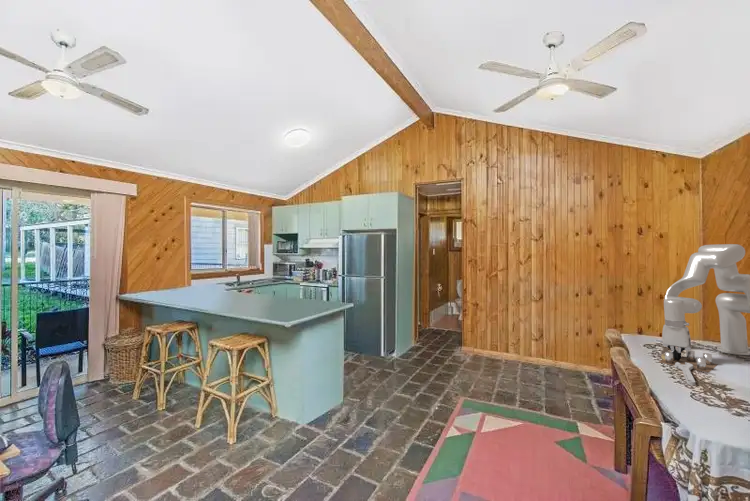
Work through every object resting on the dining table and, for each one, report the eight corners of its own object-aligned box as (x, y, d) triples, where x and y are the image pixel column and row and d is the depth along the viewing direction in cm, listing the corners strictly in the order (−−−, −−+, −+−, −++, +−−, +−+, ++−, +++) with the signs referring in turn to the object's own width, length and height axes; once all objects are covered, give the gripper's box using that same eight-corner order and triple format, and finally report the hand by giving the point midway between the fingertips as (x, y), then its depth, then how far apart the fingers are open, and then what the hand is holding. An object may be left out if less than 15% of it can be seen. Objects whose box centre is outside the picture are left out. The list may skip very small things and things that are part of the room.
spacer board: (669, 356, 169) (669, 355, 169) (718, 365, 153) (718, 364, 153) (658, 363, 160) (658, 362, 160) (708, 373, 145) (708, 372, 145)
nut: (660, 357, 166) (660, 353, 166) (672, 358, 164) (672, 354, 164) (663, 360, 162) (662, 356, 162) (675, 361, 160) (675, 357, 160)
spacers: (672, 356, 167) (671, 347, 167) (713, 364, 154) (712, 354, 154) (663, 362, 160) (662, 352, 160) (705, 370, 147) (704, 360, 147)
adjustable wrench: (696, 386, 134) (696, 382, 134) (675, 382, 138) (675, 378, 138) (693, 366, 152) (692, 363, 152) (674, 364, 156) (674, 360, 156)
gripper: (697, 324, 156) (700, 361, 156) (658, 320, 168) (660, 354, 168) (693, 327, 152) (695, 365, 152) (653, 322, 164) (655, 357, 164)
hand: (677, 359), depth 160 cm, fingers closed
